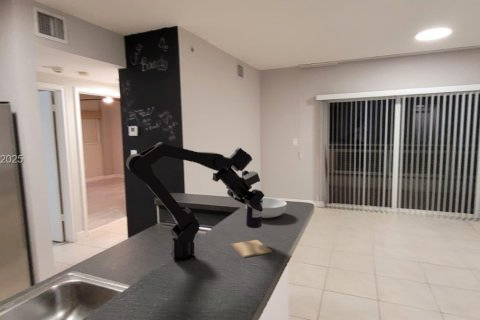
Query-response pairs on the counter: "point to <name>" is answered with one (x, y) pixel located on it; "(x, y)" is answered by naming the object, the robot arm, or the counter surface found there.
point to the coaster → (250, 248)
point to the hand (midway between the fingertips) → (257, 208)
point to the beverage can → (254, 218)
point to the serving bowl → (272, 207)
